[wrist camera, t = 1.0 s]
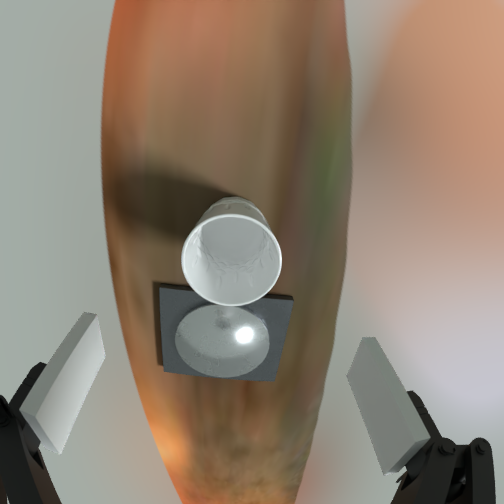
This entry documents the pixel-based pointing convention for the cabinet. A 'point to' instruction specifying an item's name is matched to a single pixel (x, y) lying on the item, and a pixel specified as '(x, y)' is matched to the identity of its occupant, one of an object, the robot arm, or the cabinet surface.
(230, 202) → the white cup
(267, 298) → the duct collar
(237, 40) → the cabinet surface
